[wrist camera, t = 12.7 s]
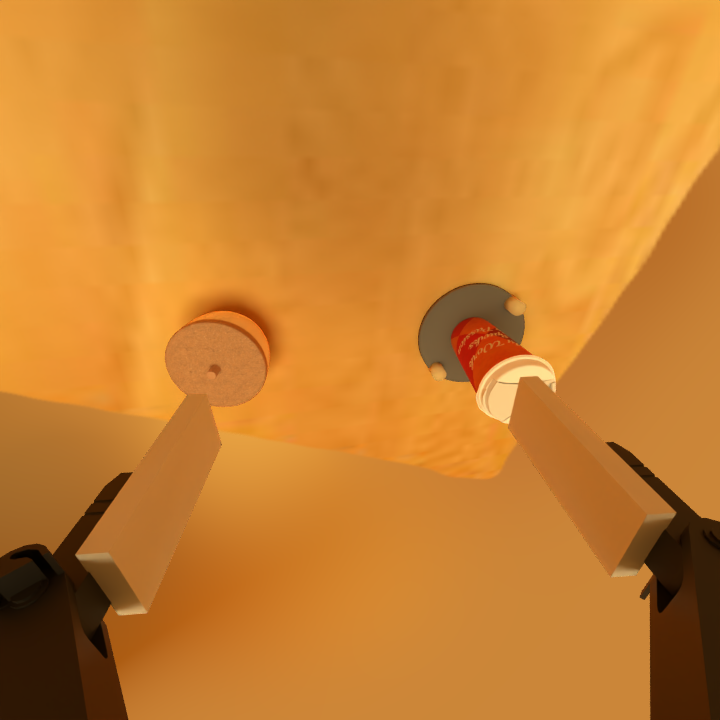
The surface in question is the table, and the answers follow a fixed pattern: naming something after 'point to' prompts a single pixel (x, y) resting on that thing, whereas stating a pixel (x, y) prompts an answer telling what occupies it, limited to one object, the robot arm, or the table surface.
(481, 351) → the paper cup
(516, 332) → the pad
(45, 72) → the table surface
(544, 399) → the robot arm
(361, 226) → the table surface
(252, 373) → the lidded jar
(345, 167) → the table surface
